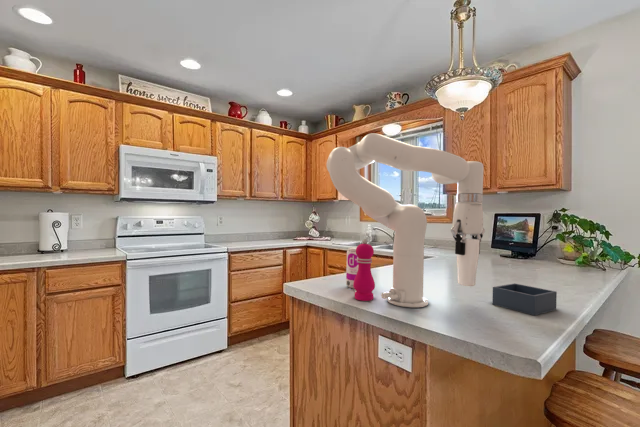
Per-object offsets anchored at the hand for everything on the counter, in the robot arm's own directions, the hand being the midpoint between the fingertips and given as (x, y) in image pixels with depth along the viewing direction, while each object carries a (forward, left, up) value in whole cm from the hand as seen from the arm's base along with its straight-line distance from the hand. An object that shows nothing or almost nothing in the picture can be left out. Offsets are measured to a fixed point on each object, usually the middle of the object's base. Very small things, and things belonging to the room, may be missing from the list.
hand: (467, 253), depth 103 cm
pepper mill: (-28, +19, -16) cm, 37 cm away
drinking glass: (0, 0, -10) cm, 10 cm away
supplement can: (-20, +34, -16) cm, 42 cm away
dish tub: (+12, -11, -16) cm, 23 cm away
